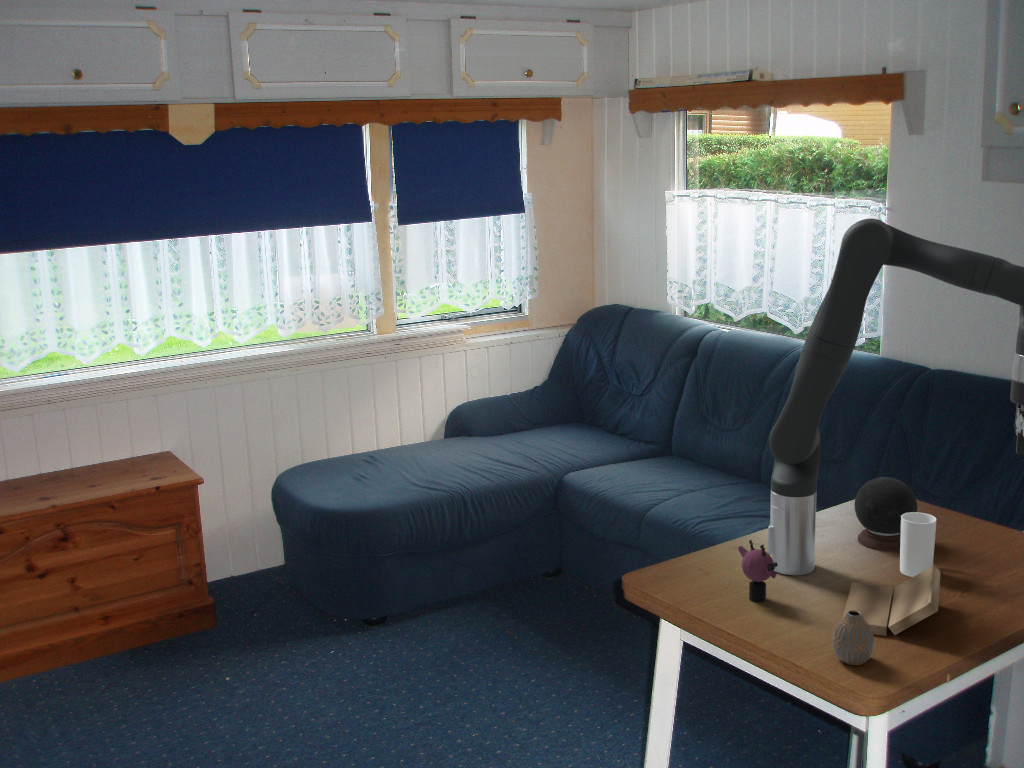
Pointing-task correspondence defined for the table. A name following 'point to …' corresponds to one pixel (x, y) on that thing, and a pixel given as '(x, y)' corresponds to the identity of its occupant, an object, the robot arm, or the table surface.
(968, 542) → the table surface
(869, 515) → the black sphere on base
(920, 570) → the mug
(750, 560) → the figurine
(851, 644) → the vase
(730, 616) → the table surface
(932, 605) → the board
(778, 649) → the table surface
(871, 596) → the fixed plank
